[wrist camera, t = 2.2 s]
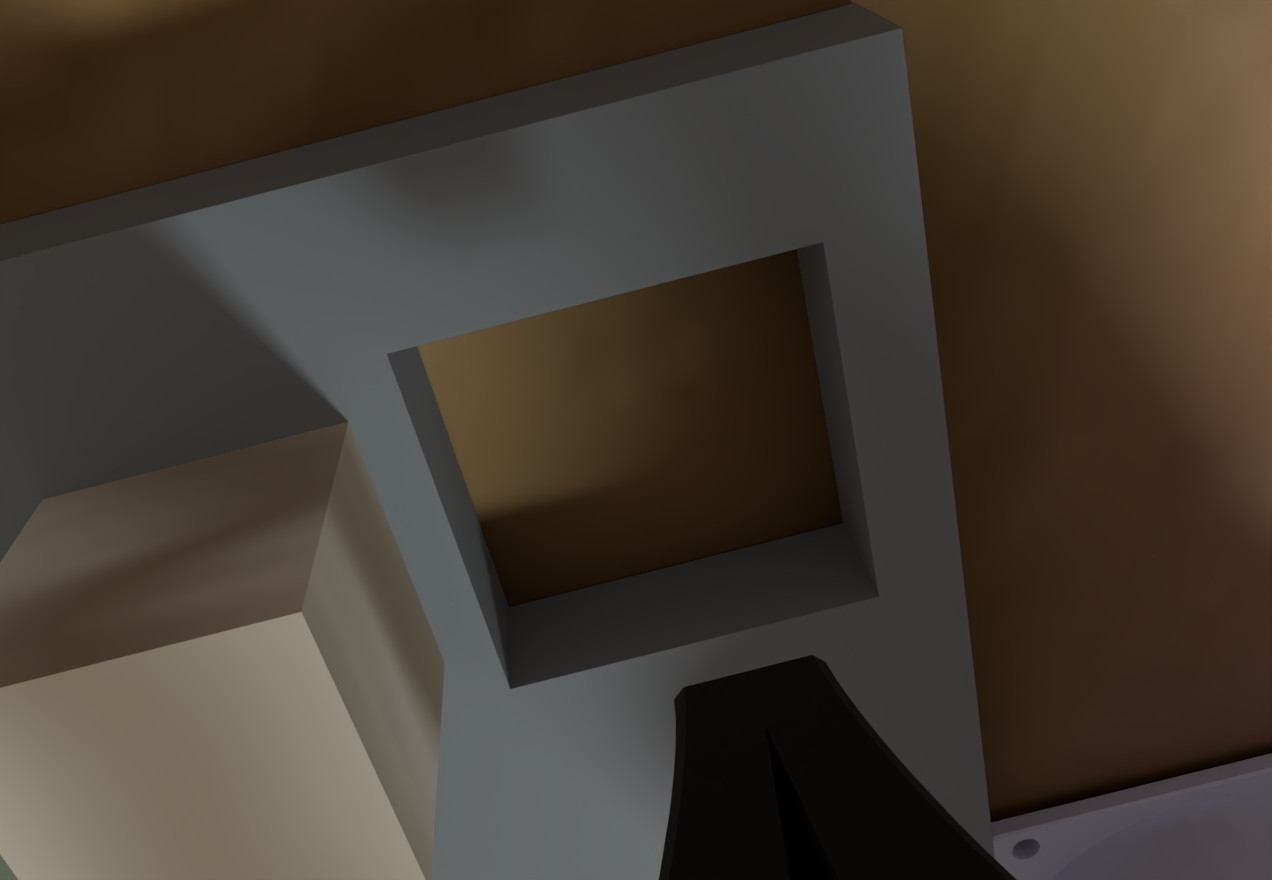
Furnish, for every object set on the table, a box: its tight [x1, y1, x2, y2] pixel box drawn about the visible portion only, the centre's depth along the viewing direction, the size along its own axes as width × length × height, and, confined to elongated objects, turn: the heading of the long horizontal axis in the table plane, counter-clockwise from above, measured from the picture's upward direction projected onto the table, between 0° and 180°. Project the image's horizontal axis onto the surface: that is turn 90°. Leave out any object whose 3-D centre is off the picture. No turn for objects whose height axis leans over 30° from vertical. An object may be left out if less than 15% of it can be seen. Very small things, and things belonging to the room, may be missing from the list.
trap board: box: [0, 3, 995, 880], centre depth 17 cm, size 20×15×4 cm
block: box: [0, 422, 445, 880], centre depth 14 cm, size 4×4×4 cm
